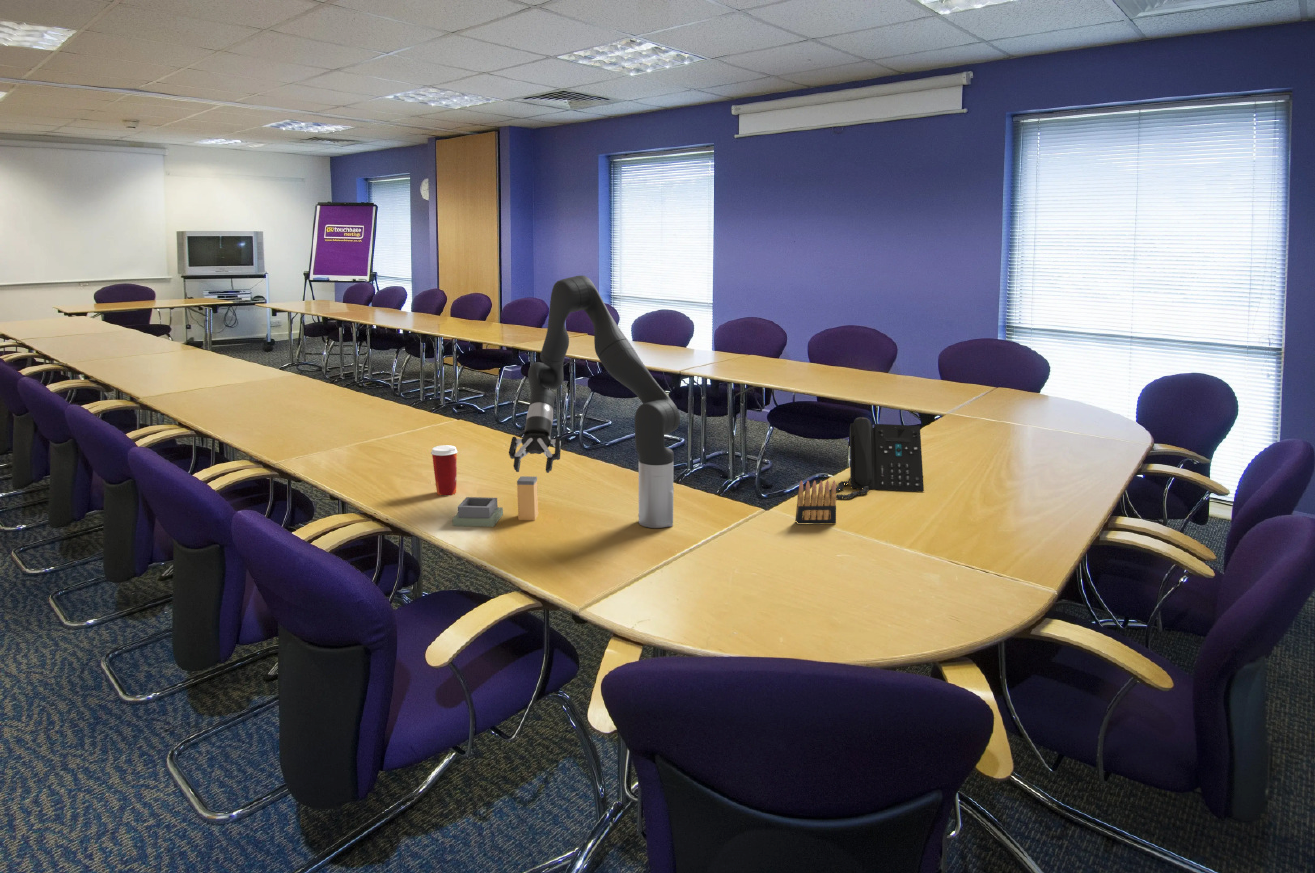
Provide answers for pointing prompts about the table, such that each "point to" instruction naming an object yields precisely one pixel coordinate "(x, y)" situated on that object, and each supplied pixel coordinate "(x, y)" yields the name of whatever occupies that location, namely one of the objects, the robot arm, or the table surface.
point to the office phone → (884, 458)
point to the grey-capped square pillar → (527, 498)
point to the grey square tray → (478, 512)
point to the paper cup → (445, 469)
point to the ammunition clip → (816, 504)
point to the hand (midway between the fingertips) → (532, 471)
